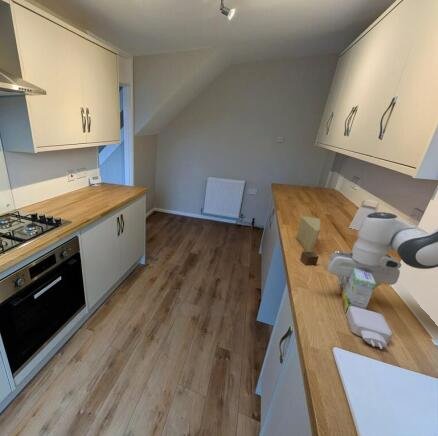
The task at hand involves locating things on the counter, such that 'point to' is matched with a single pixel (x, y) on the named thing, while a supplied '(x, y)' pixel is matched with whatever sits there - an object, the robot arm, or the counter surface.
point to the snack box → (357, 289)
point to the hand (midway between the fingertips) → (354, 287)
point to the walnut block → (309, 258)
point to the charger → (369, 326)
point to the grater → (362, 214)
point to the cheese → (308, 232)
